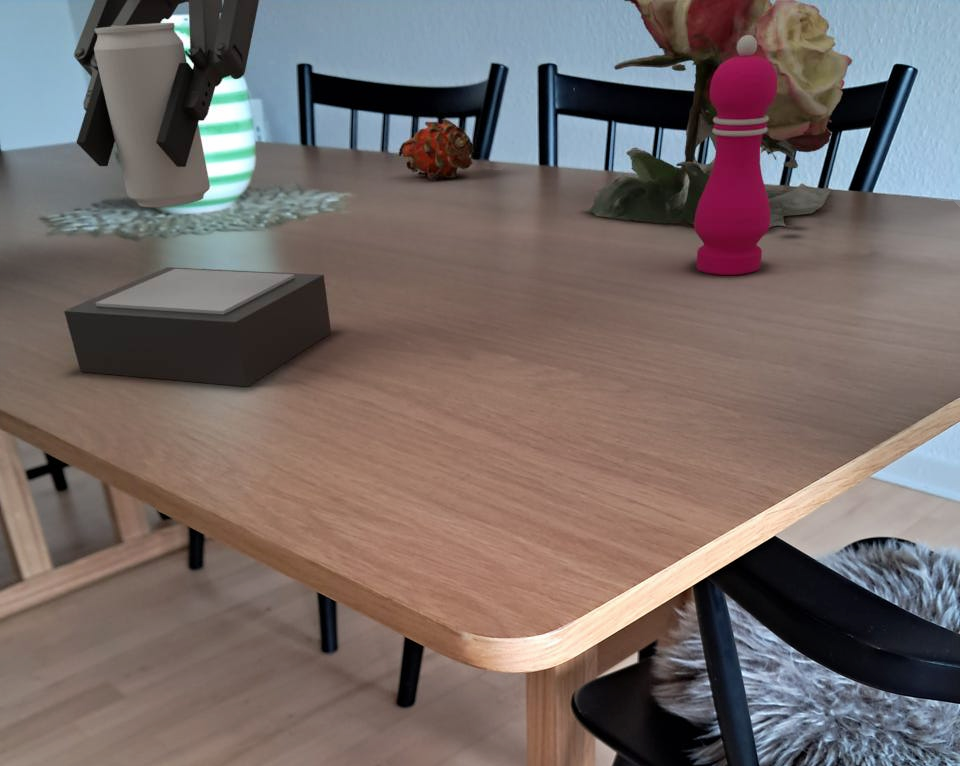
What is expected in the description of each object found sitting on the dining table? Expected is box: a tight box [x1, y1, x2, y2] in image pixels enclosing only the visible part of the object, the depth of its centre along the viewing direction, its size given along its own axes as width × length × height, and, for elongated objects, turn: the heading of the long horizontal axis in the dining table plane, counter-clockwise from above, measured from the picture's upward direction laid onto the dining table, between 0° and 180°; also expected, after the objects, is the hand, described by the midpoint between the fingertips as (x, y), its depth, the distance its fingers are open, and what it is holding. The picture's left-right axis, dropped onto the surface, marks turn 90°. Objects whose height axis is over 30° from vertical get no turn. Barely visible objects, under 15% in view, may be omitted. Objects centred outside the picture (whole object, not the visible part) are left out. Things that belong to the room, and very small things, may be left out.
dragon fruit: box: [396, 118, 474, 181], centre depth 151 cm, size 8×8×12 cm
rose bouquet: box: [573, 0, 853, 228], centre depth 117 cm, size 26×29×30 cm
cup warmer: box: [63, 266, 332, 388], centre depth 85 cm, size 17×14×5 cm
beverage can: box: [94, 22, 211, 208], centre depth 76 cm, size 6×6×12 cm
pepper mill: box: [693, 35, 777, 276], centre depth 95 cm, size 7×7×20 cm
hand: (131, 154), depth 75 cm, fingers closed on beverage can, 6 cm apart
